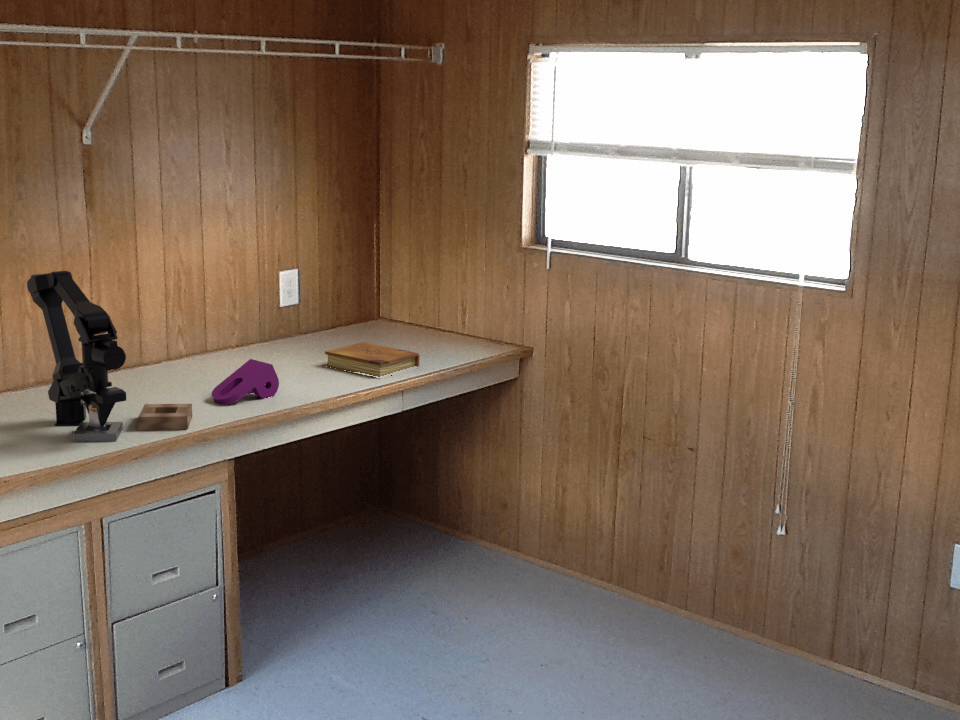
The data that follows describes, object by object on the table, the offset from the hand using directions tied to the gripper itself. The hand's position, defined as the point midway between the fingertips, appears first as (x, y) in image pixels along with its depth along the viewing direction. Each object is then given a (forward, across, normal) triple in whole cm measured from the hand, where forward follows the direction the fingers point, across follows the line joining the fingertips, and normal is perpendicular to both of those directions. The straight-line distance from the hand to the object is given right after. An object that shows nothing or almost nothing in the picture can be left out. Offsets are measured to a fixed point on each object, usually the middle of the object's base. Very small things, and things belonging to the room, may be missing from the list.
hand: (98, 423), depth 280 cm
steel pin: (+3, 0, 0) cm, 3 cm away
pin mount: (+3, 0, 0) cm, 3 cm away
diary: (+4, -11, +98) cm, 99 cm away
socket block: (+3, +1, +18) cm, 18 cm away
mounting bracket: (+4, -6, +47) cm, 47 cm away
